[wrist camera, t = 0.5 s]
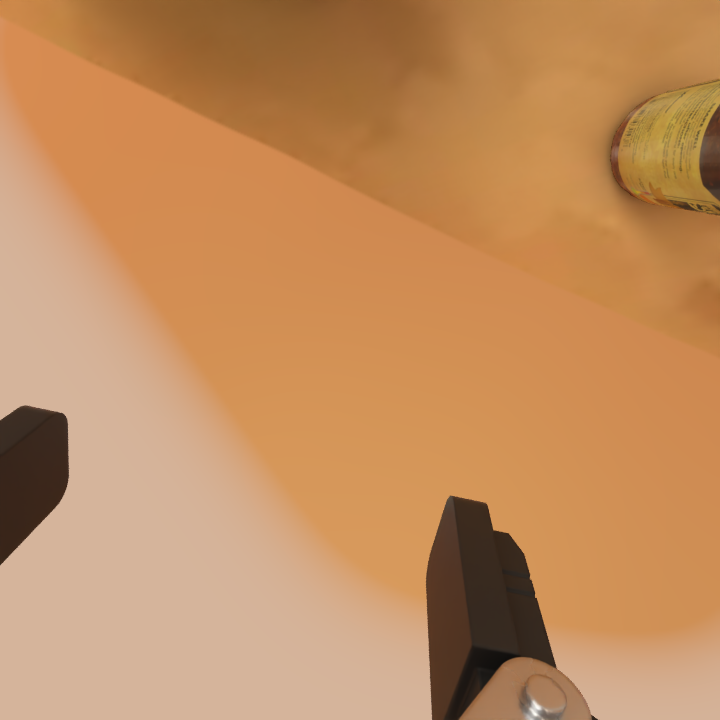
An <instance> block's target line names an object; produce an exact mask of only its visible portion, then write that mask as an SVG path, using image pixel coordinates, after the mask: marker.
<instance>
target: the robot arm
mask: <svg viewBox="0 0 720 720" xmlns="http://www.w3.org/2000/svg"><path fill="white" fill-rule="evenodd" d="M68 464H69V463H68V423H67V418H66V416H65V415H64V414H63V413H59V412H54V411H50V410H45V409H40V408H35V407H31V406H21V407H19V408H17V409H16V410H15V411H13V412H12V413H10V414H9V415H7V416H6V417H4V418H3V419H2V420H0V565H1V564H2V563H3V562H4V561H5V560H6V559H7V558H8V556H9V555H10V554H11V553H12V552H13V551H14V550H15V549H16V548H17V547H18V546H19V545H20V544H21V543H22V542H23V541H24V540H25V539H26V538H27V537H28V536H29V535H30V533H31V532H32V531H33V530H34V529H35V528H36V527H37V526H38V525H39V524H40V523H41V522H42V521H43V520H44V519H45V518H46V517H47V516H48V515H49V514H50V512H52V510H53V509H54V508H55V507H56V506H57V505H58V504H59V502H60V501H61V499H62V497H63V495H64V493H65V490H66V487H67V483H68V478H69V465H68ZM426 591H427V592H426V593H427V614H428V638H429V659H430V681H431V703H432V720H598V719H596V718H595V717H594V716H592V715H591V714H590V710H589V707H588V705H587V703H586V701H585V699H584V697H583V695H582V694H581V692H580V691H579V690H578V688H577V687H576V686H575V685H574V684H573V683H572V681H571V680H570V679H569V678H567V677H566V676H565V675H564V674H563V673H562V672H560V671H559V670H557V668H556V664H555V661H554V657H553V654H552V650H551V647H550V643H549V640H548V636H547V633H546V629H545V626H544V622H543V619H542V615H541V612H540V609H539V605H538V601H537V598H535V591H534V587H533V584H532V581H531V580H530V573H529V570H528V566H527V563H526V559H525V556H524V553H523V552H522V551H521V549H520V548H519V547H518V546H517V544H516V543H515V541H514V540H513V539H512V537H511V536H510V535H509V534H508V533H503V532H499V531H494V530H493V527H492V523H491V518H490V514H489V509H488V506H487V504H486V503H483V502H479V501H474V500H469V499H464V498H459V497H455V496H450V497H449V498H448V499H447V502H446V505H445V508H444V511H443V514H442V517H441V521H440V524H439V527H438V530H437V533H436V537H435V540H434V543H433V546H432V550H431V553H430V557H429V561H428V568H427V576H426Z"/></svg>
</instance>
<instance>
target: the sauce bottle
mask: <svg viewBox="0 0 720 720" xmlns="http://www.w3.org/2000/svg"><path fill="white" fill-rule="evenodd" d="M610 161H611V165H612V171H613V174H614V177H615V179H616V180H617V182H618V183H619V185H620V186H621V187H622V188H624V189H625V190H626V191H628V192H629V193H630V194H631V195H632V196H634V197H636V198H638V199H640V200H642V201H645V202H648V203H651V204H656V205H662V206H667V207H674V208H680V209H686V210H692V211H696V212H704V213H707V214H715V215H720V79H717V80H712V81H708V82H704V83H700V84H696V85H692V86H687V87H684V88H679V89H675V90H670V91H667V92H666V93H664V94H661V95H658V96H655V97H652V98H650V99H648V100H646V101H645V102H643V103H642V104H640V105H639V106H637V107H636V108H635V109H634V110H633V111H632V112H631V113H630V114H629V115H628V117H627V118H626V119H625V120H624V122H623V123H622V124H621V125H620V127H619V129H618V130H617V131H616V134H615V136H614V139H613V143H612V147H611V159H610Z"/></svg>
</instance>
